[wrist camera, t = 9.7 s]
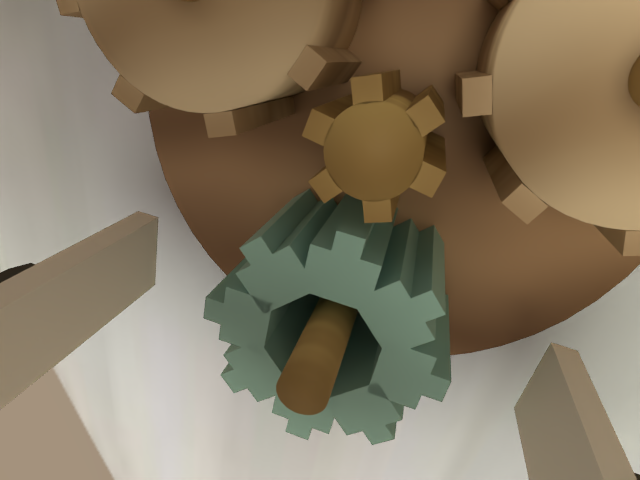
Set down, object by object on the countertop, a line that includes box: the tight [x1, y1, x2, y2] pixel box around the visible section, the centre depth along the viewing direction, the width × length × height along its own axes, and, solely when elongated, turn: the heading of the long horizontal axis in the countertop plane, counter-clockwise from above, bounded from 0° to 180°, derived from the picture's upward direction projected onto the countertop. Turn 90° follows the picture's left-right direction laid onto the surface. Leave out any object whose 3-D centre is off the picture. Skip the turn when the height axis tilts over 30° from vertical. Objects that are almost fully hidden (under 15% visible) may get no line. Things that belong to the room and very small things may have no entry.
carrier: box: [56, 0, 640, 415], centre depth 12 cm, size 19×19×8 cm
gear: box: [203, 189, 451, 445], centre depth 15 cm, size 8×8×5 cm
